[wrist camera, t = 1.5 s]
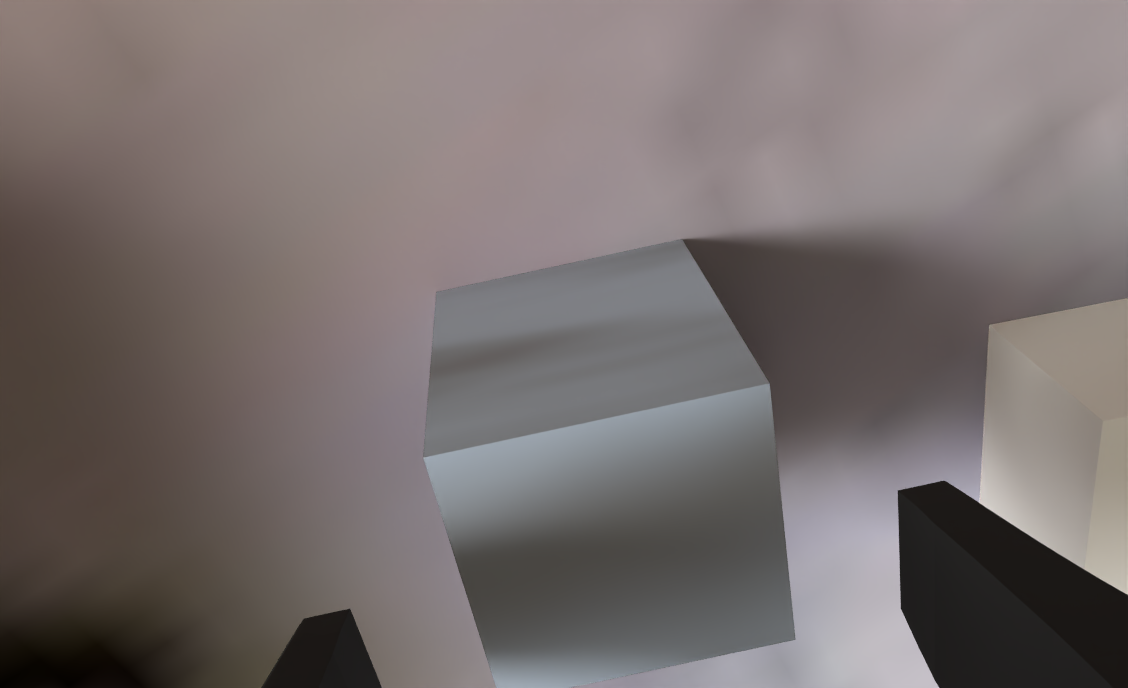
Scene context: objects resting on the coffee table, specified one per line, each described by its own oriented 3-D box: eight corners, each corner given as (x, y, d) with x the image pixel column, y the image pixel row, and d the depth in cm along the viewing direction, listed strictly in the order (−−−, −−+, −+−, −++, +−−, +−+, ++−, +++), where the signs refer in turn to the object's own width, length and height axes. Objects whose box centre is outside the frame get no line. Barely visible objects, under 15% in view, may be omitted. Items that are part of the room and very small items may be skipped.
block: (710, 444, 19) (795, 639, 14) (492, 490, 19) (501, 702, 14) (681, 238, 17) (769, 383, 12) (436, 291, 17) (423, 458, 12)
